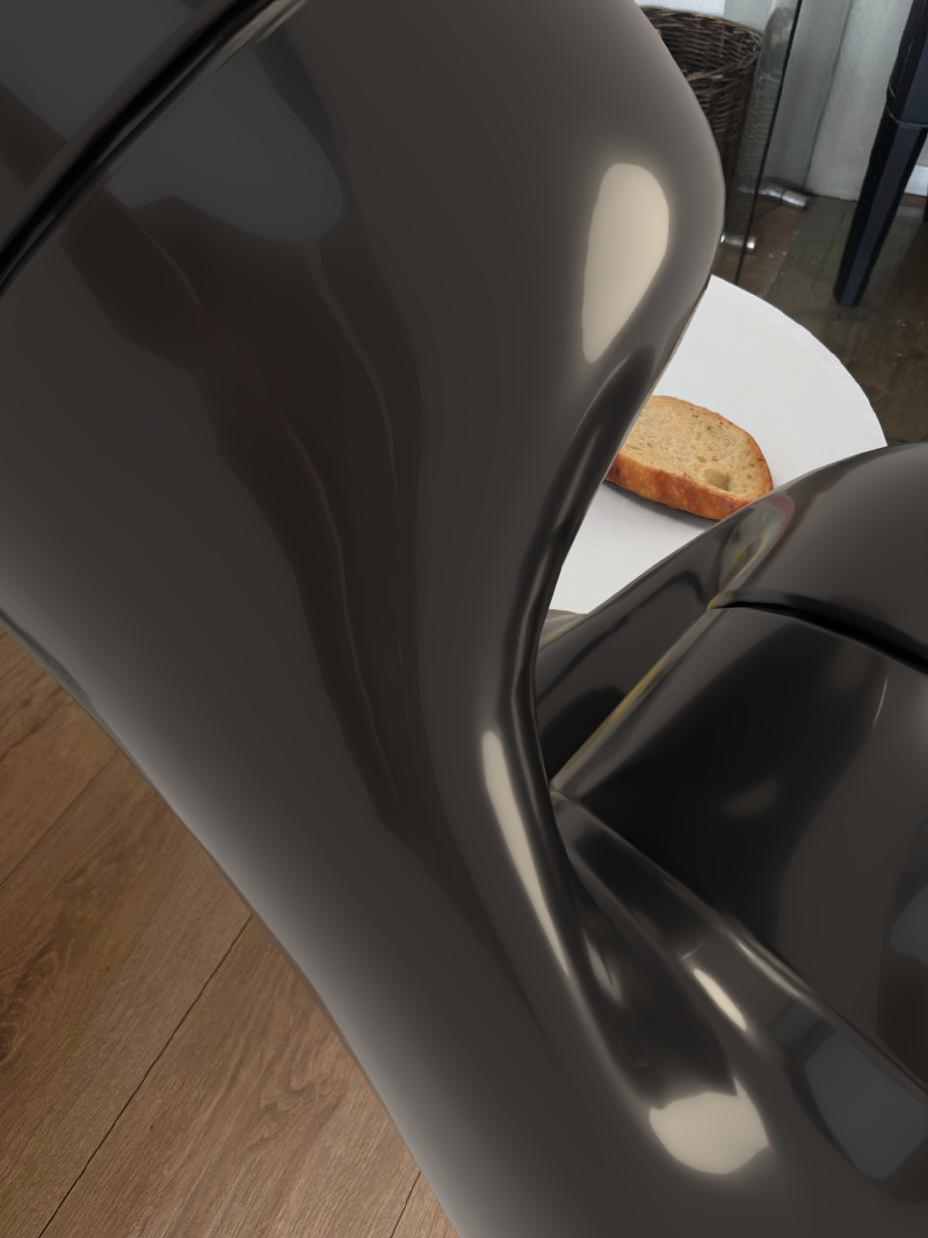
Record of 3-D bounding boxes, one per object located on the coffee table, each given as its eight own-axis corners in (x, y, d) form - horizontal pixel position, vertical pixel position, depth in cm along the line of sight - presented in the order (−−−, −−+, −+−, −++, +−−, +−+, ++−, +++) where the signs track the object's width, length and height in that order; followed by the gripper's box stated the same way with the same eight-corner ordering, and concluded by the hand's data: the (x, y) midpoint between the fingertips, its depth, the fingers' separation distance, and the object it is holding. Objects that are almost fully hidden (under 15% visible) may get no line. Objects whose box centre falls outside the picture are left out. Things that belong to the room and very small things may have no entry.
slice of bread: (517, 406, 86) (518, 368, 83) (721, 391, 87) (728, 353, 84) (550, 543, 73) (553, 504, 71) (788, 525, 74) (799, 485, 72)
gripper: (737, 561, 28) (575, 591, 44) (227, 670, 25) (253, 659, 41) (792, 823, 28) (610, 757, 44) (288, 956, 25) (290, 835, 41)
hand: (437, 710), depth 43 cm, fingers open, 8 cm apart
